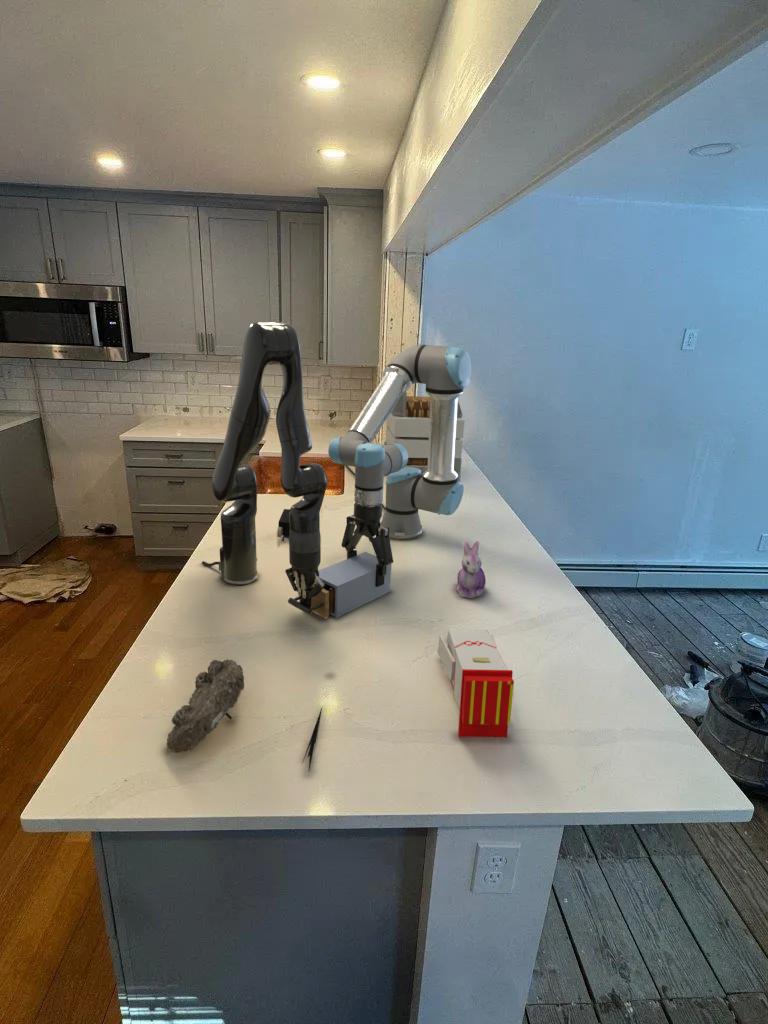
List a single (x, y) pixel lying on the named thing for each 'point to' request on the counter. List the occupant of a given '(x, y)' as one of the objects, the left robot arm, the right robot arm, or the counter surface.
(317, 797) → the counter surface
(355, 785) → the counter surface
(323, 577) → the cabinet
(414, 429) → the white slatted crate
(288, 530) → the figurine character
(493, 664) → the toy
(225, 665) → the fossil
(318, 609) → the drawer
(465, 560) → the figurine
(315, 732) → the feather
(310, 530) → the left robot arm
